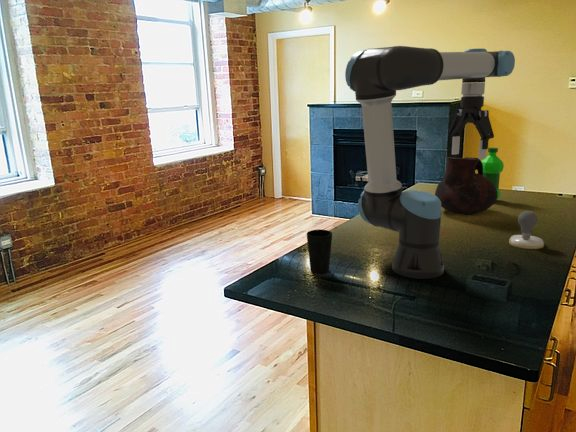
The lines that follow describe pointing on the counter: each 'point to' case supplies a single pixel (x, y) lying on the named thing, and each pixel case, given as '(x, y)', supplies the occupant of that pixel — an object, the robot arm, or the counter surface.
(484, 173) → the plastic bottle
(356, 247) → the counter surface
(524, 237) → the light bulb
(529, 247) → the white plate
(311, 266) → the cup
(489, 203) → the jug
